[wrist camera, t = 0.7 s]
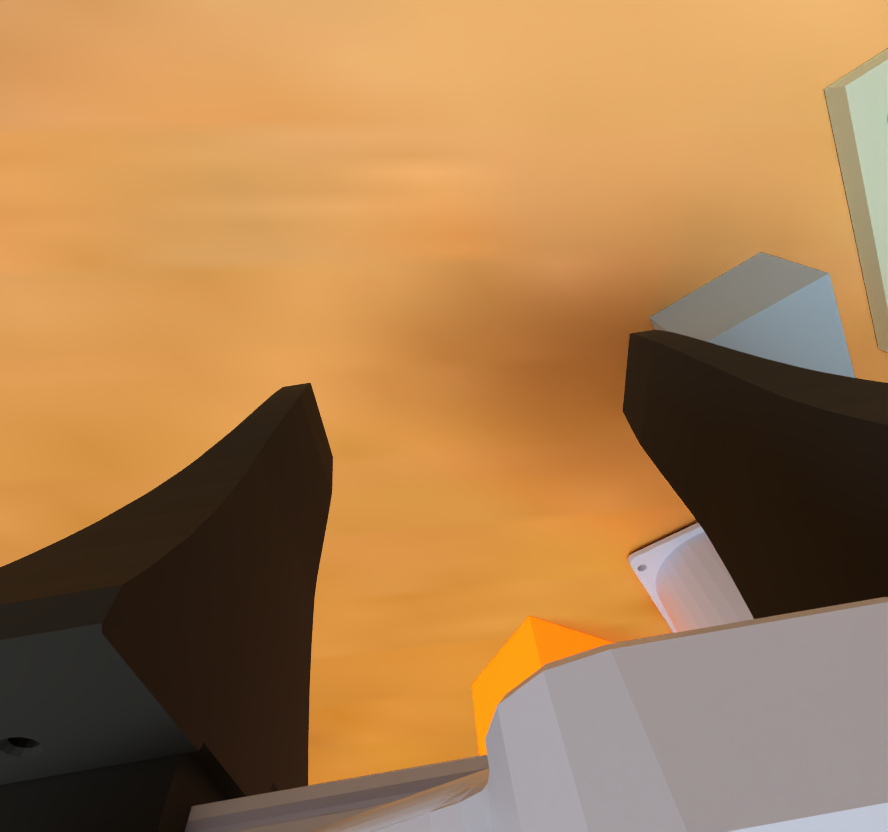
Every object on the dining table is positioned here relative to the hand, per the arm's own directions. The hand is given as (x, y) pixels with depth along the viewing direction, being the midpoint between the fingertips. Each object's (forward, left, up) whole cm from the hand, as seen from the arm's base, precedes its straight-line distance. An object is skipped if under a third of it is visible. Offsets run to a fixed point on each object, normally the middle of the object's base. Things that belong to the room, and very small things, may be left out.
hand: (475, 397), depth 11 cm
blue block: (-9, -9, -11) cm, 16 cm away
